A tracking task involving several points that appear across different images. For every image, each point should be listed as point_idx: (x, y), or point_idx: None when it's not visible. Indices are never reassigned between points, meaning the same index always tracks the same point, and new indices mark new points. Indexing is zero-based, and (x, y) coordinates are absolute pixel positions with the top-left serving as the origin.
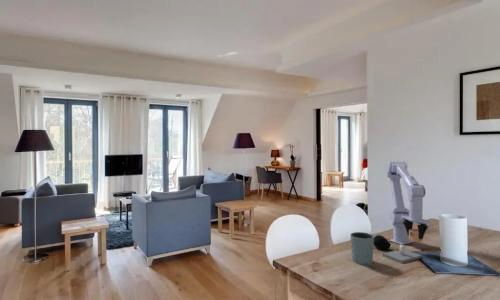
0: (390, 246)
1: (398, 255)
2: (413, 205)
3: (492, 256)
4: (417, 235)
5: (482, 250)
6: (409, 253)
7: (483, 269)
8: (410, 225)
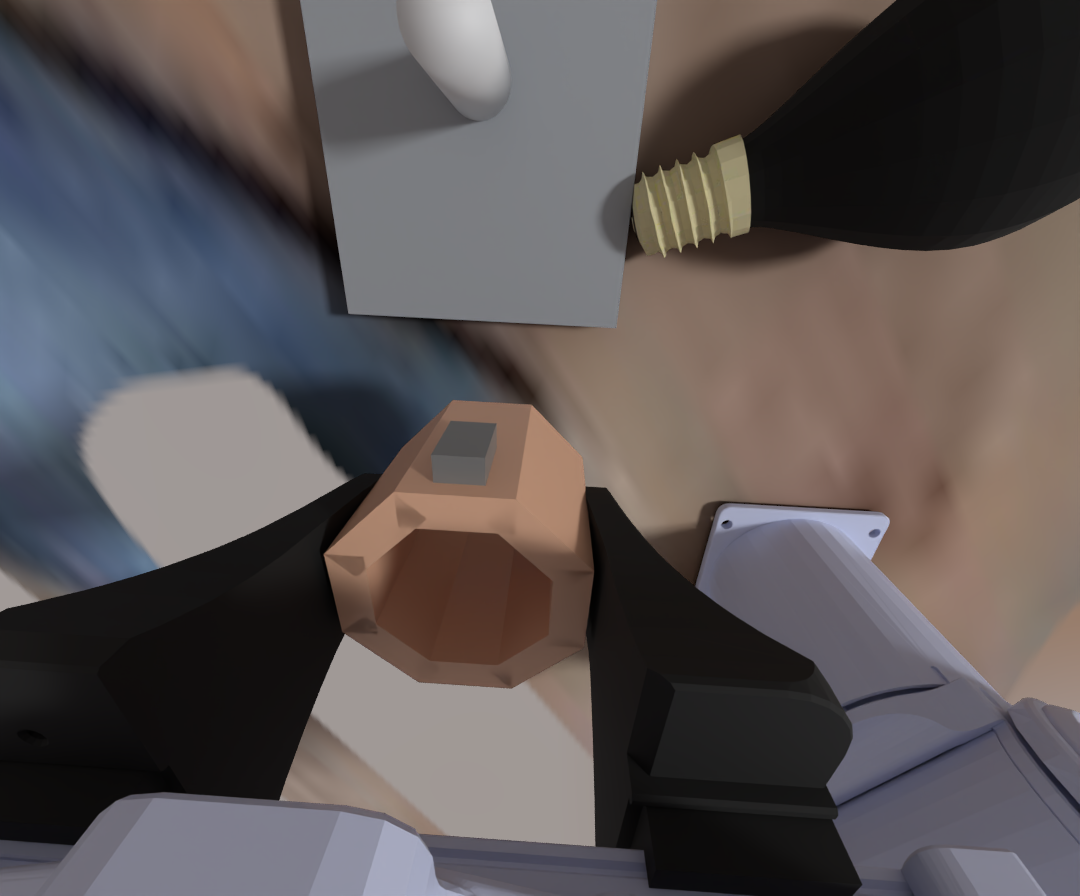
0: (734, 141)
1: None
2: None
3: None
4: (374, 492)
5: (333, 785)
6: (455, 238)
7: (5, 512)
8: (603, 703)
